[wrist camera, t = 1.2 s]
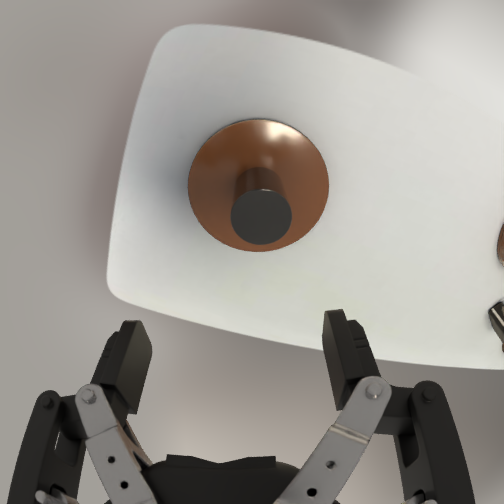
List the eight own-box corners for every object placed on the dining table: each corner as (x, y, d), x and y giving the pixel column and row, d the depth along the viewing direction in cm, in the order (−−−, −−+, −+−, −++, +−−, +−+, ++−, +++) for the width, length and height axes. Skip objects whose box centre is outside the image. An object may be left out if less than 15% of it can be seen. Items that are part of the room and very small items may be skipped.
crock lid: (180, 127, 23) (158, 142, 18) (324, 115, 23) (349, 126, 17) (201, 250, 30) (191, 293, 24) (324, 240, 29) (342, 281, 23)
